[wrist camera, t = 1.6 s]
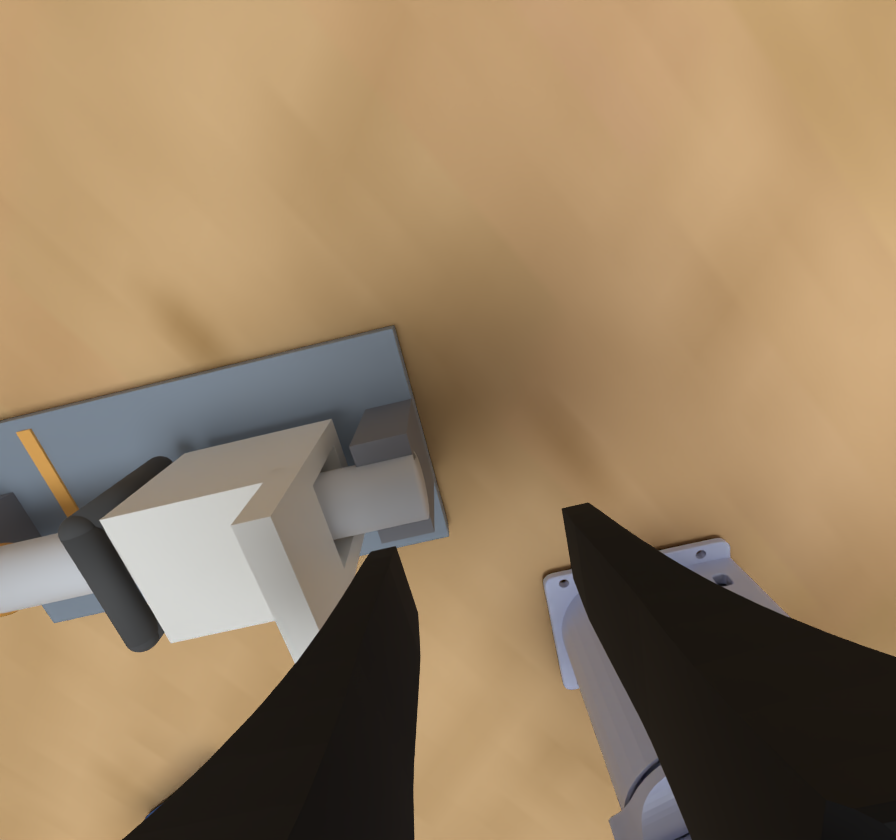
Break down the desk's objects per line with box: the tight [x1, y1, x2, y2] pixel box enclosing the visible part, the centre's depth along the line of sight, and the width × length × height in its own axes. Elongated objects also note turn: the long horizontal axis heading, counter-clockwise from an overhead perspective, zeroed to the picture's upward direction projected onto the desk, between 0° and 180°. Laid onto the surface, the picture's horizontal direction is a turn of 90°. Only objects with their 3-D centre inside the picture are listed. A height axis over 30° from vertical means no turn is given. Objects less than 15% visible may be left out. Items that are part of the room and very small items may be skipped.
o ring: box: [58, 456, 173, 652], centre depth 16 cm, size 1×5×5 cm, turn 13°
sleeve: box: [99, 419, 365, 663], centre depth 15 cm, size 6×5×7 cm
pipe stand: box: [0, 325, 449, 623], centre depth 18 cm, size 20×10×6 cm, turn 103°
